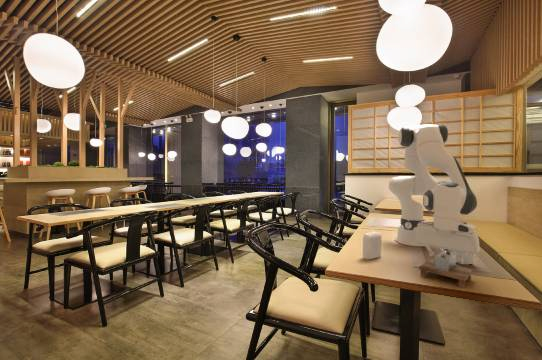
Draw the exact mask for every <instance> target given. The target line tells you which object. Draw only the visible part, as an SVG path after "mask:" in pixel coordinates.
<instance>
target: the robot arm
mask: <svg viewBox="0 0 542 360" xmlns="http://www.w3.org/2000/svg"><path fill="white" fill-rule="evenodd" d="M448 137H449V130H448V128H447V126H446V125H445V124H441V123H440V124H439V123H437V124H426V123H425V124H418V125H417V124H416V125H412V126H409V125H408V126H407V125H406V126H403V127H401V129H399V131H398V134H397V140H398V142H399V145H400V146H401V147H404V148H405V151H404V162H403V165H404V168H405V169H406V170H407V171H409V172H411V173H413V174H414V175H398V176H394V177H391V179H389V181H388V189H389V191H390V193H392V194H393V195H395V197H396V198H397V199H398V200H399V202H400V207H401V209H400V210H401V217H400V225H399V226H398V227H397V235H396V238H395V237H394V241H396V242H397V243H399V244H401V245H405V246H410V247H426V249H427V252H428V253H429V254H428V255H429V257H430V258H435V256H436V253H435V252H434V251H433V249H432V247H436V248H439V247H440V248H446V249H451V250H457V251H462V253H461V254H463V256H462V257H458V263H457V264H459V263H463V258H464V257H465V256H466V255H467V252H468V253H473V255H474V254H475V255H476V254H478V253H479V252H480V238H479V235H478V234H477V232H476V230H477V227H476V225H474V224H471V223H470V222H466V221H464V220H462V215H464V216H465V215H466V216H467V215H469V214H471V213H472V212H473V211H475V210H476V208H477V206H478V199H477V197H476V194H475V193H474V192H473V190H472V189H471V187H470V185H469V183H468V180H467V178H466V176H465V174H464V171H463V169H462V167H461V165H460V163H459V161H458V160H457V158H456V157H455V156H453V155H452V154H450V153H449V151H448V150H447V148H446V147H445V143H447V141H448ZM429 168H431V169H434V170H438V171H441V172H443V173H445V174H447V175H448V177H449V179H450V181H438V179H437V178H435V177H434V176H433V175H432V174H431V173H430V171H429ZM412 196H423V197H422V198H423V199H422V204H423V205H422V204H421V202H418V201H416V200H415V199H413V197H412ZM424 208H425V210H427V211H428V212H433V221H426V220H425V219H424ZM440 248H439V249H440Z"/></svg>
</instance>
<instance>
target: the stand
mask: <svg viewBox="0 0 542 360" xmlns="http://www.w3.org/2000/svg"><path fill="white" fill-rule="evenodd" d="M418 270H419V271H420V272H419V275H420V277H421V278H426V277H427V272H428V273H432V274H437V275H440V276H445V277H449V278H452V279H456V280H458V288H461V289H465V287H466V281H469V282H471V280H472V274H473V273H474V272H473V271H474V270H473V269H472V268H468V267H464V266H463V267H462V266H460V265H459V266H458V265H456V266H455V267H454V268H453V269H452V270H451V271H450V272H444V271H440V270H436V269H435V260H432V259H428V260H426V261H425V262H423V263H421V264H420V265H419V266H418Z"/></svg>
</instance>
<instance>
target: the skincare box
mask: <svg viewBox="0 0 542 360" xmlns="http://www.w3.org/2000/svg"><path fill="white" fill-rule="evenodd" d="M451 253H455V254H456V263H457V264H459V265H469V264H472V265H473V264H474V256H473V255H474V254H473V253H468V252H467V255H466V256H465V257H464V258H463V263H458V257H462V256H463V254H461V253H462V251H457V250H453V251H452V252H451Z"/></svg>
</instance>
